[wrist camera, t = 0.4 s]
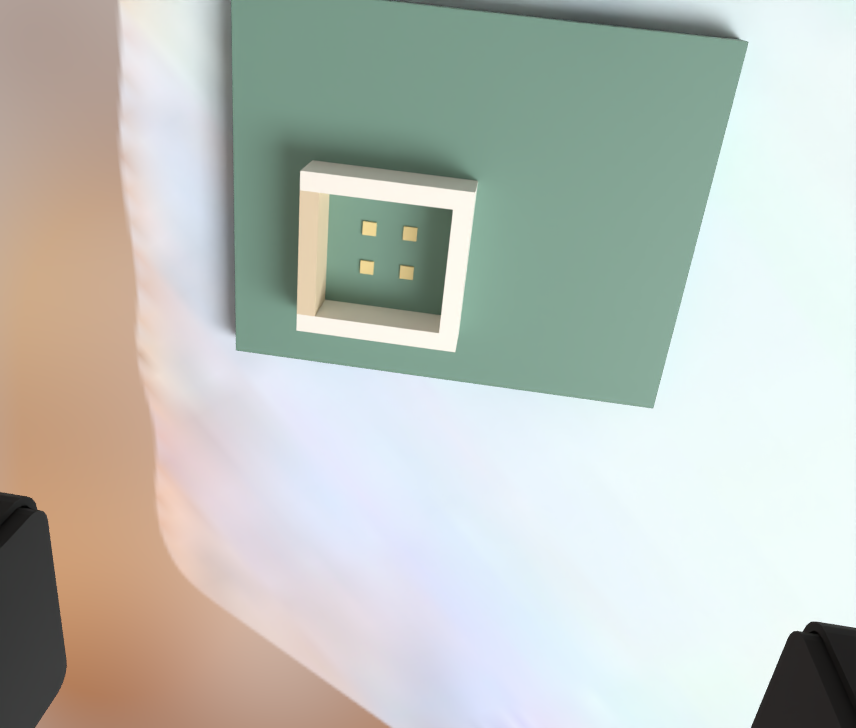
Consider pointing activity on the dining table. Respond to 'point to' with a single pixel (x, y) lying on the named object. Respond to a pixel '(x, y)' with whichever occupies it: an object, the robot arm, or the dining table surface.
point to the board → (470, 190)
